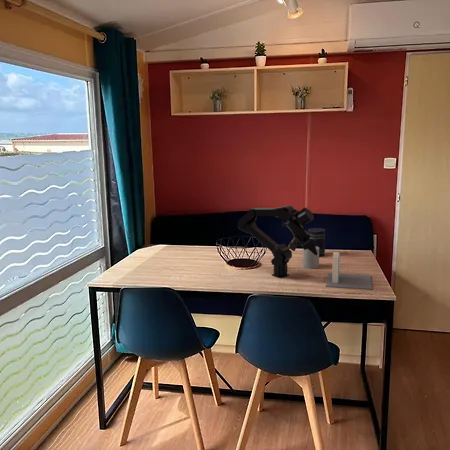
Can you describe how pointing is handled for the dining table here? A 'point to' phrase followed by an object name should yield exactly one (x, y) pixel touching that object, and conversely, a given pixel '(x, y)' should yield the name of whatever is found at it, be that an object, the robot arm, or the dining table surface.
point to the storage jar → (318, 239)
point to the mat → (350, 281)
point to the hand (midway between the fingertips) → (316, 254)
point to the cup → (310, 259)
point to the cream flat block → (335, 267)
